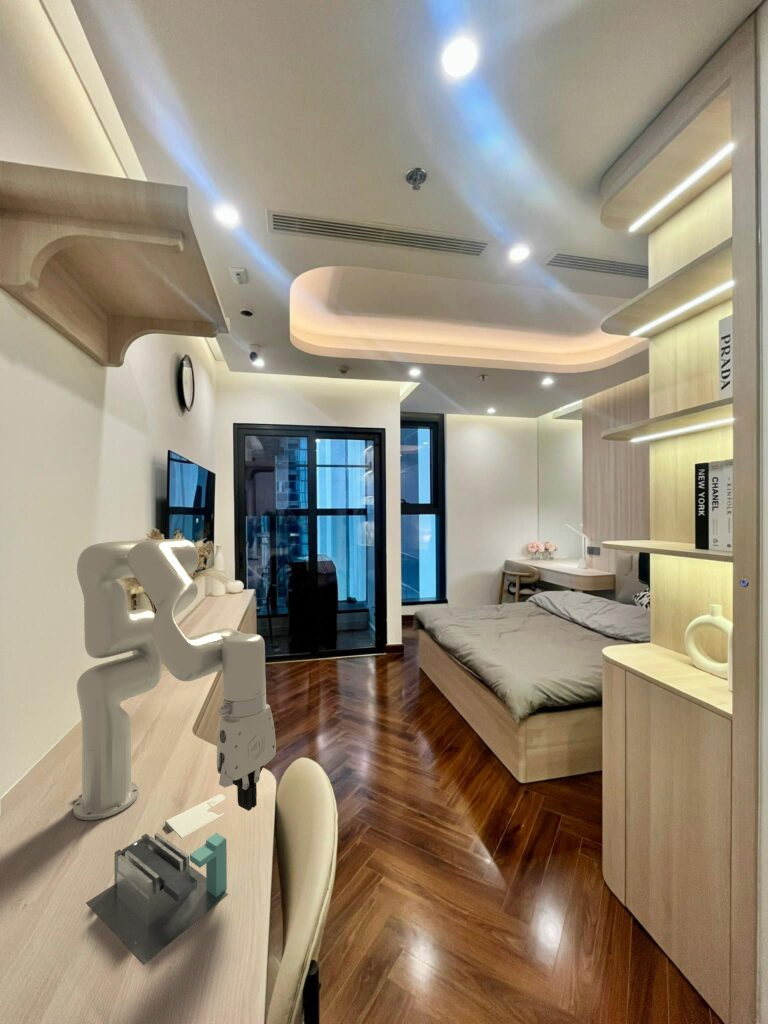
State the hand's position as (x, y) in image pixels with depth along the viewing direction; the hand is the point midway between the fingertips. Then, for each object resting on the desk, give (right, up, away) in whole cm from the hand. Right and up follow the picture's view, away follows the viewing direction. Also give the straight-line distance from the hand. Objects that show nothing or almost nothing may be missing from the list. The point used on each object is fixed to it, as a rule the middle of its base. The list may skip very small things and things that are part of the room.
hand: (247, 805), depth 79 cm
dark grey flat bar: (-13, -7, -6) cm, 16 cm away
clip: (-5, -11, -6) cm, 13 cm away
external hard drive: (-14, -13, +14) cm, 24 cm away
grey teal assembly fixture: (-13, -12, -7) cm, 19 cm away
